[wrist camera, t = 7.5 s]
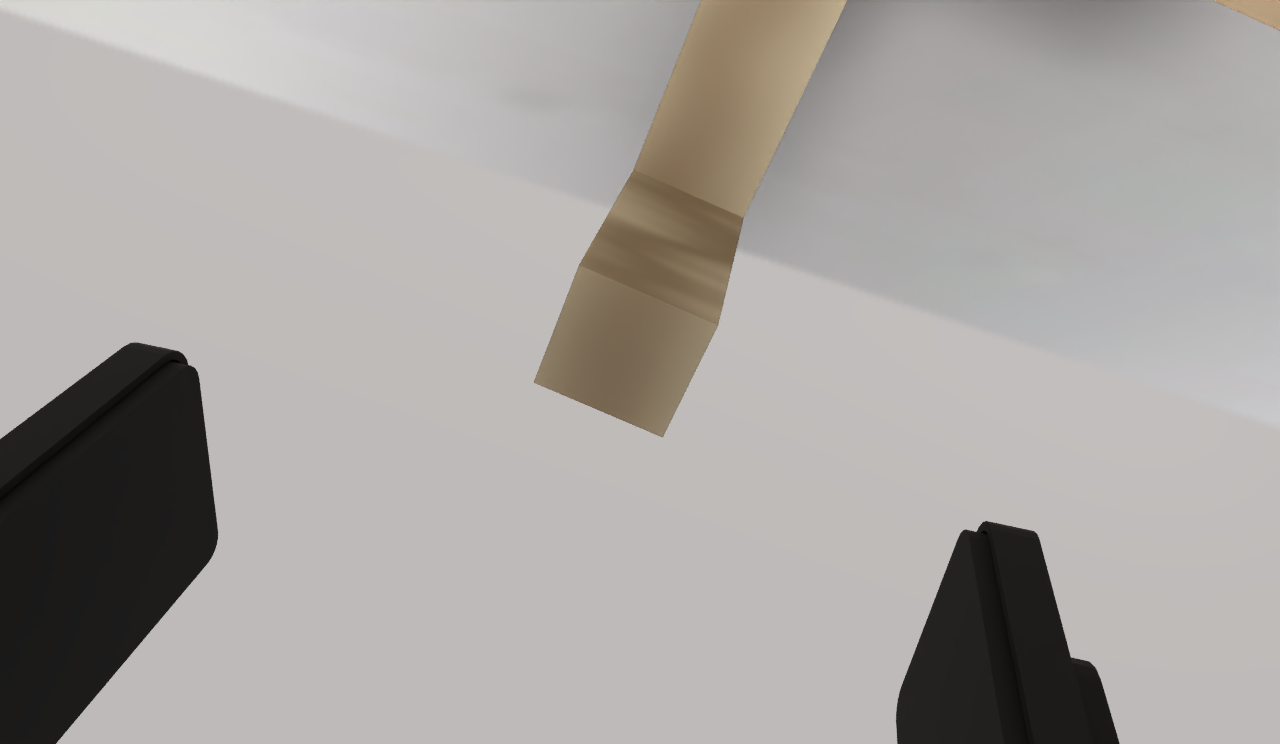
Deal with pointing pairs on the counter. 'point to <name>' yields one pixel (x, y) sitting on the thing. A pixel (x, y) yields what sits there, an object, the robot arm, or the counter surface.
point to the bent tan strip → (684, 210)
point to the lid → (1257, 10)
